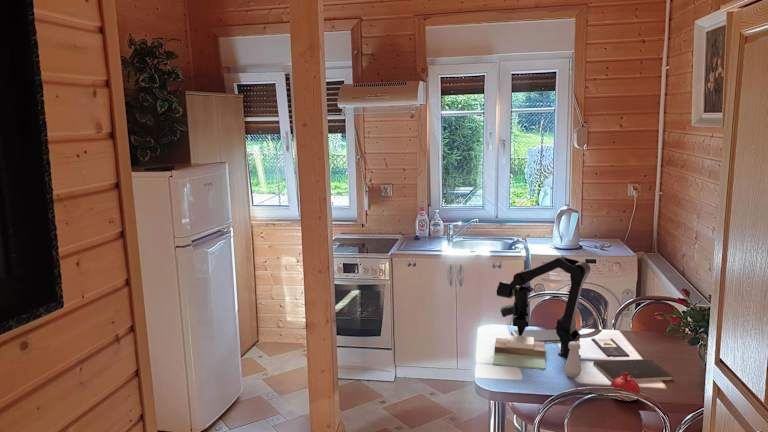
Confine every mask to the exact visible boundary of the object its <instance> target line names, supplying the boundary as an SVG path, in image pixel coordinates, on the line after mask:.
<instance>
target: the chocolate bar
mask: <svg viewBox="0 0 768 432" xmlns="http://www.w3.org/2000/svg"><path fill="white" fill-rule="evenodd" d="M591 342H593V343H594V345H595V346H596V347H598V348H599V350H600V351H602V353H603V354H604V355H605V356H606V357H609V358H611V357H615V358H616V357H618V358H619V357H630V354H629V353H628V352H627V351H626V350H625V349H623V347H621V346H620V345H619V344H618V343H617V342H616V341H615V340H614V339H613V338H591Z"/></svg>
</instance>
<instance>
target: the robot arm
mask: <svg viewBox="0 0 768 432" xmlns="http://www.w3.org/2000/svg"><path fill="white" fill-rule="evenodd" d="M556 269H560V270H563V272H565V273H567V274H569V275H570V277H569V278H570V288H569V293H568V297H567V301H566V305H565V308H564V313H563V315H561V316H560V317H558V319H557V320H556V326H555V327H554V328H555V329H554V330H556V334H557V335H558V336H559V338H560V341H561V343H560V352H559V353H558V354H557V355H558V356H560V357H563V358H564V359H568V355H569V351H570V349H569V347H568V344H569V343H570V342H572V341H575V342H577V341H578V340H580V339H581V337H582V334H581V333H580V332H579V331H578V329H576V328H577V327H576V325H577V324H576V323H577V321H576V314H577V309H578V305H579V302H580V301H579V300H580V298H581V294H582V290H583V286H584V284H585V282H586V280H587V279H588V277H589V274H590V272H591V265H590V264H589V263H588V262H587V261H583V260H582V261H580V260H576V259H574V258H573V259H572V258H569V257H565V256H564V255H561V256H558V257H555V258H554V259H551V260H550V261H548V262H544V263H542V264H541V265H539V266H536V267H533V268H526V269H522V270H520V271H518V272H517V273H515V274H514V275H513V279H512V280H511V282H510V281H509V282H508V281H504V280H500V281H499V283H498V285H497V289H496V296H497V297H501V298H506V299H512V298H513V297H514V299H513V300H514V301H513V304H512V303H511V304H508V305H504V306H501V307H500V313H501V315H502V317H503V318H506V317H507V316H511V315H512V316H513V318H512V326H513V327H517V330H518V333H519V336H522V334H523V332H524V330H526V329H527V328H529V294H530V293H532V292H534V290H535V289H534V288H533V287H532V286H531V284H530V285H528V286H526V285H527V284H528V283H530V282H532V281H533V280H534V279H536V278H537V277H538V278H539V277H540V276H542V275H544V274H547V273H549V272H552V271H554V270H556ZM579 357H580V358H581V357H582V355H580V354H579Z"/></svg>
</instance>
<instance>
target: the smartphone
mask: <svg viewBox="0 0 768 432" xmlns="http://www.w3.org/2000/svg"><path fill="white" fill-rule="evenodd" d="M510 334H511V336H519V333H518V329H517V330H516V329H515V330H513V329H512V330H511V331H510ZM522 336H523V337H534V341H540V342H561V341H560V338H559V336H558V335H557V334H556V329H525V330H524V332H523V334H522ZM578 341H580V342H581V340H580V339H579V340H578Z"/></svg>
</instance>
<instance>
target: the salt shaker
mask: <svg viewBox="0 0 768 432" xmlns="http://www.w3.org/2000/svg"><path fill="white" fill-rule="evenodd" d="M568 347H569V349H570V351H569V355H568V359H567V358H566V359H567V360H566V363H565V366H564V370H565V373H566V375H567V376H568V377H570V378H575V379H576V378H578V377H579V376H580V375H581V373H582V368H581V367H582V366H581V360H580V359H581V357H579V355H580V350H581V343H580V342H575V341H572V342H570V343H569V344H568Z"/></svg>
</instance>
